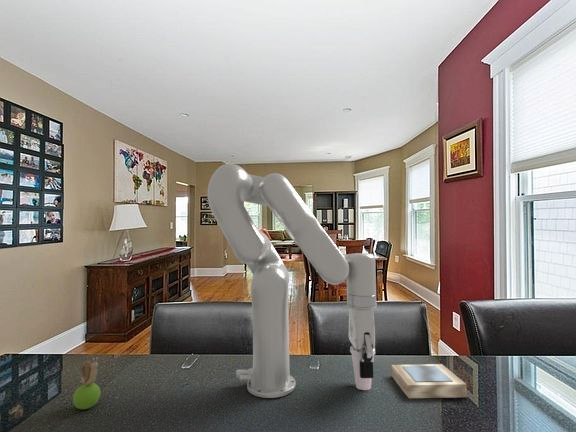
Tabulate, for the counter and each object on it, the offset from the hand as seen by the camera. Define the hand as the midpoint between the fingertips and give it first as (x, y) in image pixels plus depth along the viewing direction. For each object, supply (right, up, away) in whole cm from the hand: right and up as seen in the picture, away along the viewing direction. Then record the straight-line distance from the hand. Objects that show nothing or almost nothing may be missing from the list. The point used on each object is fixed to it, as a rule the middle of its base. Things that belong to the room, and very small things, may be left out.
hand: (363, 370), depth 81 cm
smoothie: (0, -4, 0) cm, 4 cm away
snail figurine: (-66, -5, -9) cm, 66 cm away
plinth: (+16, -4, 0) cm, 17 cm away
